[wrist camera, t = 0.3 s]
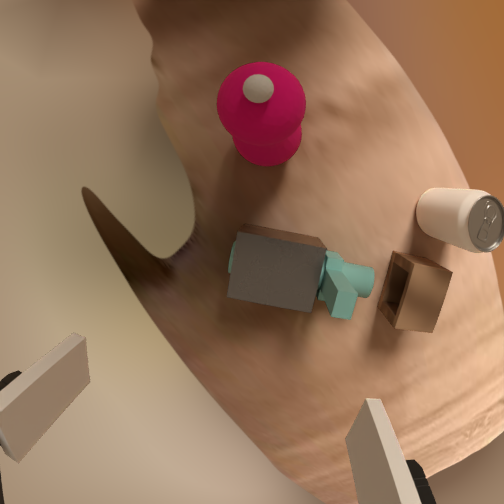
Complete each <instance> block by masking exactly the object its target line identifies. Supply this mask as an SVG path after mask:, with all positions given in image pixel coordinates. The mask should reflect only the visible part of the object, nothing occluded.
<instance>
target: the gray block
mask: <svg viewBox="0 0 504 504" xmlns="http://www.w3.org/2000/svg"><path fill="white" fill-rule="evenodd" d="M326 250H327V248H326V247H325V246H324V244H323V243H322V242H321V241H320V239H319V238H317V237H312V236H307V235H302V234H297V233H292V232H287V231H281V230H276V229H271V228H266V227H260V226H255V225H249V224H244V225H243V226H242V227H241V228H240V229H239V230H238V231H237V237H236V243H235V249H234V255H233V261H232V267H231V273H230V280H229V286H228V292H227V297H229V298H234V299H239V300H244V301H249V302H254V303H259V304H264V305H270V306H275V307H281V308H286V309H292V310H298V311H303V312H309V313H311V312H312V308H313V304H314V300H315V296H316V292H317V288H318V284H319V280H320V276H321V272H322V267H323V263H324V259H325V254H326Z"/></svg>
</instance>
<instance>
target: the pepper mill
mask: <svg viewBox="0 0 504 504" xmlns="http://www.w3.org/2000/svg"><path fill="white" fill-rule="evenodd" d="M305 108H306V100H305V94H304V91H303V88H302V86H301V84H300V83H299V81H298V80H297V78H296V77H295V76H294V75H293V74H292V73H290V72H289V71H288V70H286V69H285V68H283V67H281V66H279V65H276V64H273V63H268V62H254V63H248V64H246V65H243V66H241V67H239V68H237V69H236V70H234V71H233V72H232V73H230V74H229V75H228V76H227V77H226V79H225V80H224V82H223V83H222V85H221V87H220V90H219V92H218V97H217V111H218V115H219V118H220V120H221V122H222V124H223V126H224V127H225V128H226V130H227V131H228V132H229V133H230V134H231V135H232V136H233V141H234V144H235V146H236V148H237V150H238V152H239V153H240V154H241V155H242V156H243V157H244V158H245V159H246V160H248V161H249V162H251V163H253V164H256V165H260V166H274V165H278V164H281V163H283V162H285V161H287V160H288V159H290V158H291V157H292V156H293V155H294V154H295V152H296V151H297V149H298V147H299V145H300V142H301V136H302V132H301V122H302V120H303V118H304V114H305Z"/></svg>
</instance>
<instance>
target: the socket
mask: <svg viewBox="0 0 504 504" xmlns="http://www.w3.org/2000/svg"><path fill="white" fill-rule="evenodd" d="M452 273H453V272H451V271H449V270H448V269H446V268H444V267H442V266H440V265H439V264H437V263H435V262H433V261H431V260H429V259H427V258H422V257H418V256H414V255H409V254H405V253H400V252H396V251H393V253H392V257H391V261H390V265H389V268H388V272H387V276H386V279H385V283H384V286H383V290H382V293H381V297H380V300H379V303H378V308H379V309H380V310H381V312H382V313H383V314H384V315H385V317H386V318H387V319H388V321H389V322H390V323H391V325H392V326H393V327H394V329H402V330H410V331H419V332H428V333H433V330H434V327H435V325H436V322H437V319H438V316H439V314H440V311H441V308H442V305H443V302H444V299H445V296H446V293H447V290H448V286H449V283H450V280H451V276H452Z"/></svg>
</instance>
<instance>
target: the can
mask: <svg viewBox="0 0 504 504" xmlns="http://www.w3.org/2000/svg"><path fill="white" fill-rule="evenodd" d="M416 217H417V222H418V224H419V226H420V228H421V229H422V231H423V232H424V233H426V234H427V235H429V236H431V237H434V238H436V239H439V240H441V241H444V242H447V243H449V244H452V245H454V246H457V247H460V248H462V249H465V250H467V251H470V252H474V253H481V252H491V251H493V250H494V249H496V248H497V247H498V246H499V245H500V243H501V242H502V240H503V237H504V207H503V205H502V204H501V202H500V201H499V200H498V199H497V198H496V197H494V196H491V195H490V194H489V193H487V192H485V191H481V190H472V189H457V188H431V189H429V190H427V191H425V192H424V193H423V194H422V196H421V197H420V199H419V201H418V204H417V208H416Z"/></svg>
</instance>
